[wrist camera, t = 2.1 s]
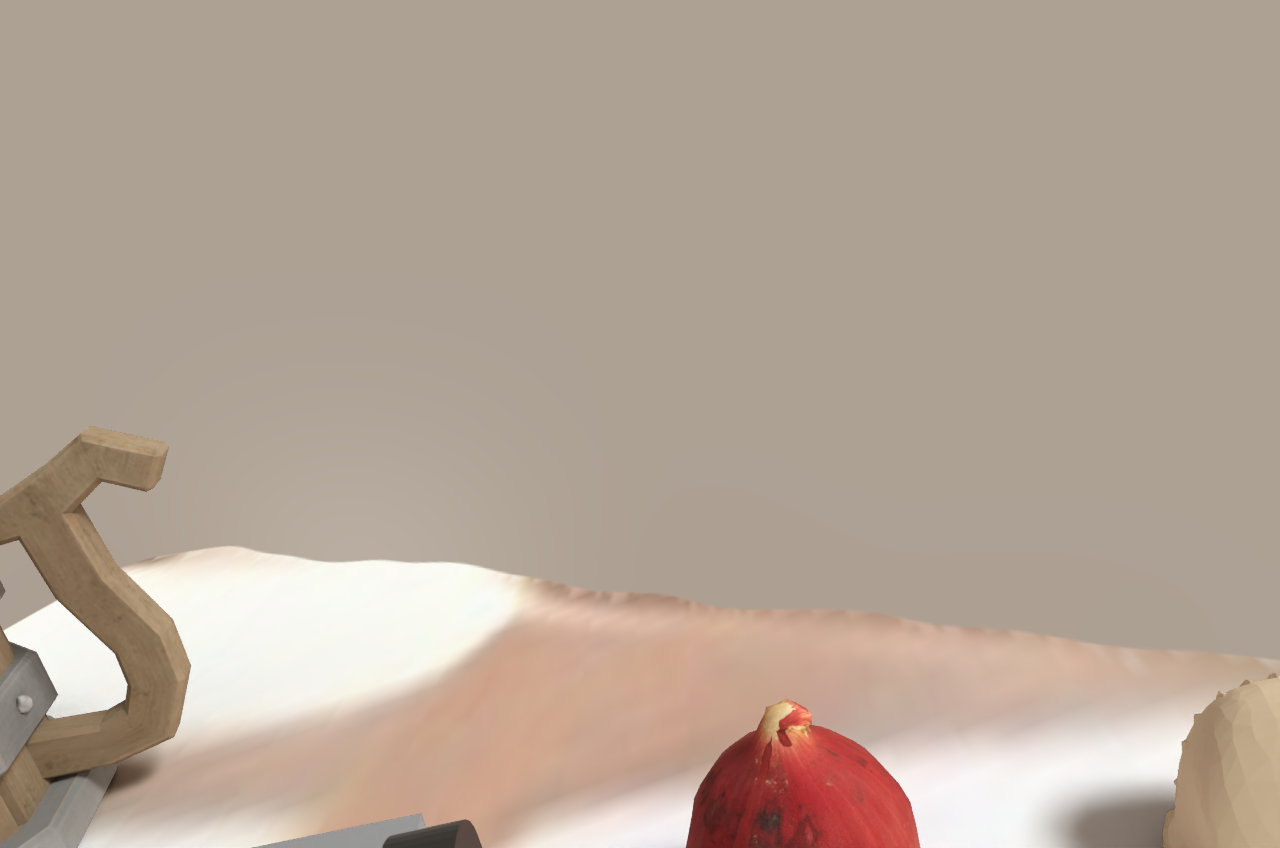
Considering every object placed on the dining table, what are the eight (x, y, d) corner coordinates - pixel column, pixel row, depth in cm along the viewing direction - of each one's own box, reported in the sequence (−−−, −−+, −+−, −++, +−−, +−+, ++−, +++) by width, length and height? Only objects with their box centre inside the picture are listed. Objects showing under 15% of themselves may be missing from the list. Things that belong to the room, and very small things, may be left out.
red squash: (901, 1105, 21) (858, 831, 18) (677, 1018, 24) (612, 772, 21) (956, 900, 26) (928, 657, 23) (762, 849, 29) (718, 628, 26)
